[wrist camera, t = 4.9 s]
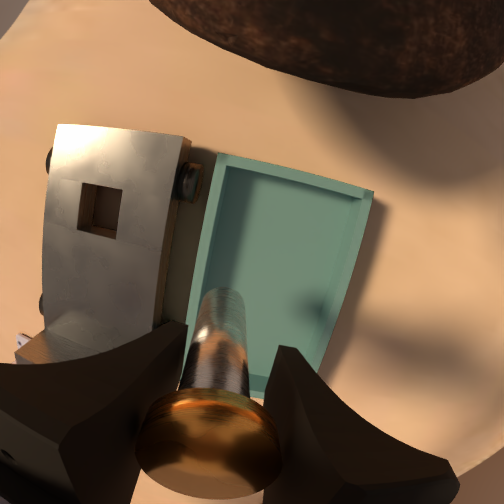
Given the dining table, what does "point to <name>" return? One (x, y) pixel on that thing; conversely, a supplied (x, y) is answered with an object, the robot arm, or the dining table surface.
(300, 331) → the tray
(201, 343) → the pin
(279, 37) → the jug
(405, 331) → the dining table surface
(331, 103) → the dining table surface
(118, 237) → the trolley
